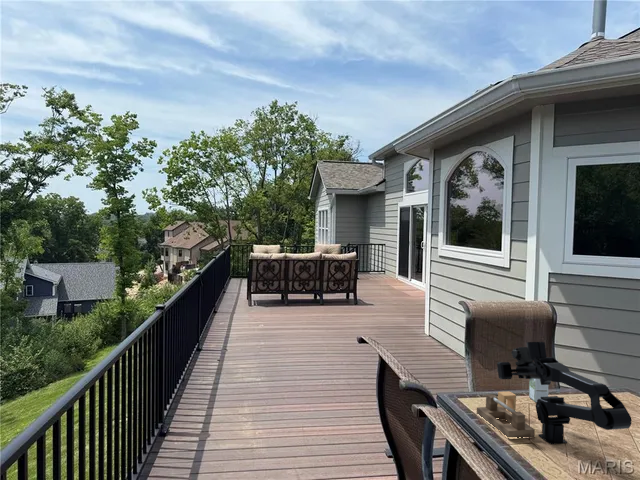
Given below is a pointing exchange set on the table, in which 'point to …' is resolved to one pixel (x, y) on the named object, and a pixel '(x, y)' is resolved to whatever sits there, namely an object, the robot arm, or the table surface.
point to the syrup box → (537, 390)
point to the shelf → (516, 418)
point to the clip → (510, 399)
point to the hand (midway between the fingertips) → (507, 369)
